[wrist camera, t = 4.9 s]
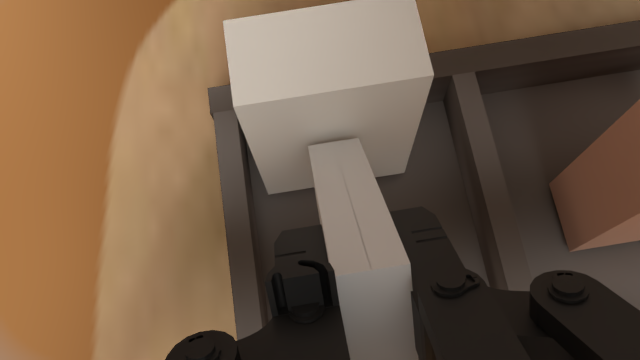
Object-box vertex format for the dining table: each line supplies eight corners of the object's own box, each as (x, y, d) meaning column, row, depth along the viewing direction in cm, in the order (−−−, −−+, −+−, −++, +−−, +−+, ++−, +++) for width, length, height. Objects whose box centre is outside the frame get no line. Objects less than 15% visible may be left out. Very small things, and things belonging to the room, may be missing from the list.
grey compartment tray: (1045, 311, 20) (1181, 298, 17) (262, 442, 20) (246, 455, 17) (885, 23, 24) (971, -32, 21) (226, 128, 24) (207, 88, 21)
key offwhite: (404, 173, 21) (434, 75, 14) (268, 194, 21) (233, 106, 14) (390, 111, 22) (413, -9, 15) (260, 132, 22) (223, 20, 15)
